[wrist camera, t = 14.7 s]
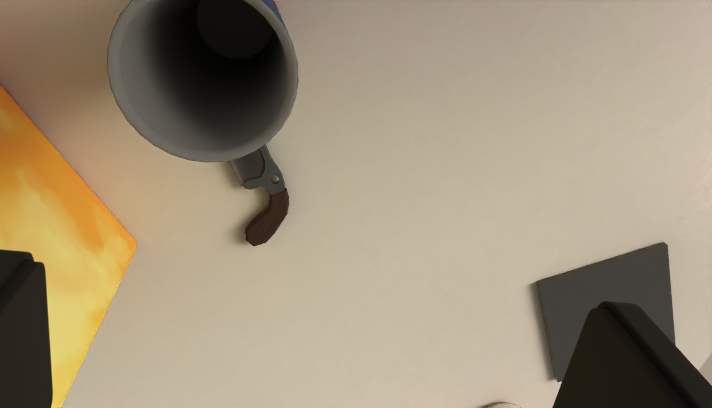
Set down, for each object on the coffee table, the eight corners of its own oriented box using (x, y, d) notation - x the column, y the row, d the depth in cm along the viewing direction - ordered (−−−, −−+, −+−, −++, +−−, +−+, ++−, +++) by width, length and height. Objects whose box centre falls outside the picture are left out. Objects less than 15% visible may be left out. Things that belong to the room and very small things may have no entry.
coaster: (536, 281, 45) (538, 285, 45) (664, 241, 45) (667, 244, 45) (555, 378, 50) (557, 382, 49) (672, 342, 49) (675, 346, 49)
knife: (304, 226, 41) (304, 230, 41) (249, 244, 41) (249, 249, 41) (221, 27, 35) (219, 29, 35) (157, 50, 36) (155, 53, 35)
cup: (313, -7, 35) (329, 32, 22) (265, 95, 37) (253, 189, 24) (203, -66, 33) (145, -64, 20) (159, 46, 36) (80, 116, 22)
